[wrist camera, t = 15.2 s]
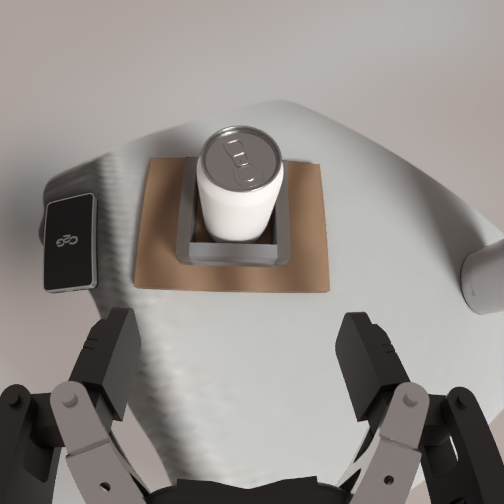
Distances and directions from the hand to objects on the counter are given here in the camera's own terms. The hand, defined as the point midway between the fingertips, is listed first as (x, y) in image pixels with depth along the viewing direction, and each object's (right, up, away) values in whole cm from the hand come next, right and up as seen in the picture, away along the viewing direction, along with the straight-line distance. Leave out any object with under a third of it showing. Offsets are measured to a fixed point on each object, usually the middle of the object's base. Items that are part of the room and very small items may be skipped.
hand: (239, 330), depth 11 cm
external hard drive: (-20, +3, +20) cm, 29 cm away
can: (-1, +6, +21) cm, 22 cm away
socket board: (-1, +6, +22) cm, 22 cm away
